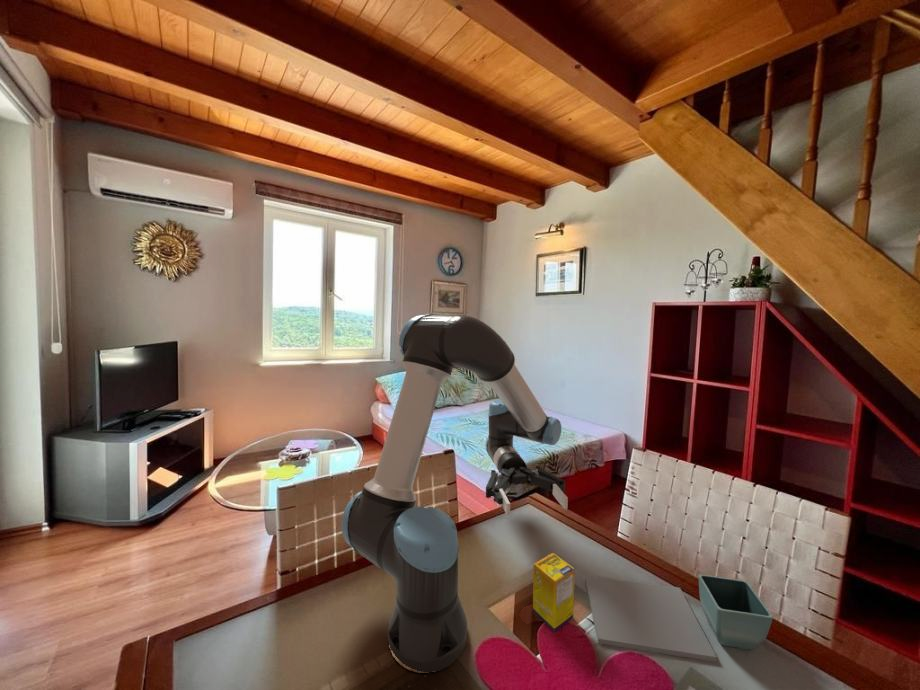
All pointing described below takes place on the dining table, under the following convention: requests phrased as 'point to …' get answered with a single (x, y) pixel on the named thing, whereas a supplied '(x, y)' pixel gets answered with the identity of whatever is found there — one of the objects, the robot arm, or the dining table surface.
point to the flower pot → (734, 611)
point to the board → (646, 618)
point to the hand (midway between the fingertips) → (537, 506)
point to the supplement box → (553, 591)
